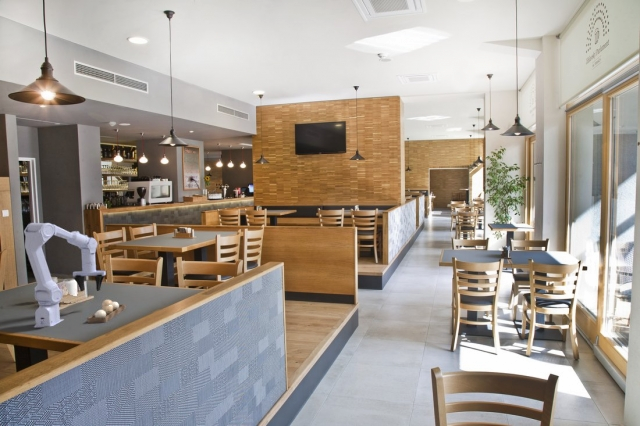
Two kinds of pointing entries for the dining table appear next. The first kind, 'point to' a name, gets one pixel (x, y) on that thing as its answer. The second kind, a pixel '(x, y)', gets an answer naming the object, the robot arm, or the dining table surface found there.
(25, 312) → the dining table surface
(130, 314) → the dining table surface
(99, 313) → the egg left
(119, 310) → the holder
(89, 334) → the dining table surface
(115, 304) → the egg right
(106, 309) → the beige jar
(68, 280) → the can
